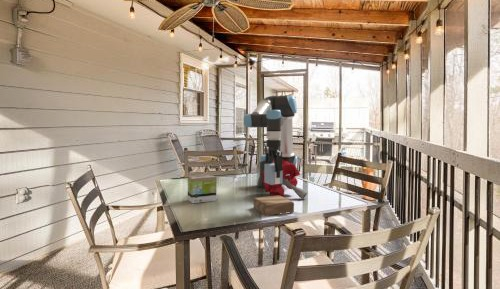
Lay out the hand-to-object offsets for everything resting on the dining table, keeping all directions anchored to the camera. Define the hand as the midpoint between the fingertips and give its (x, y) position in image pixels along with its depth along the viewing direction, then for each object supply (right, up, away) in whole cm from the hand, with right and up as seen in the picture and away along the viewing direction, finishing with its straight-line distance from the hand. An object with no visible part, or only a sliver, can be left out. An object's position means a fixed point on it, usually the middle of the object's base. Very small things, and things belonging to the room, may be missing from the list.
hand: (273, 182), depth 167 cm
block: (0, 0, 0) cm, 0 cm away
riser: (0, -15, +1) cm, 15 cm away
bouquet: (+9, -13, +30) cm, 33 cm away
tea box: (-41, -14, +21) cm, 48 cm away
